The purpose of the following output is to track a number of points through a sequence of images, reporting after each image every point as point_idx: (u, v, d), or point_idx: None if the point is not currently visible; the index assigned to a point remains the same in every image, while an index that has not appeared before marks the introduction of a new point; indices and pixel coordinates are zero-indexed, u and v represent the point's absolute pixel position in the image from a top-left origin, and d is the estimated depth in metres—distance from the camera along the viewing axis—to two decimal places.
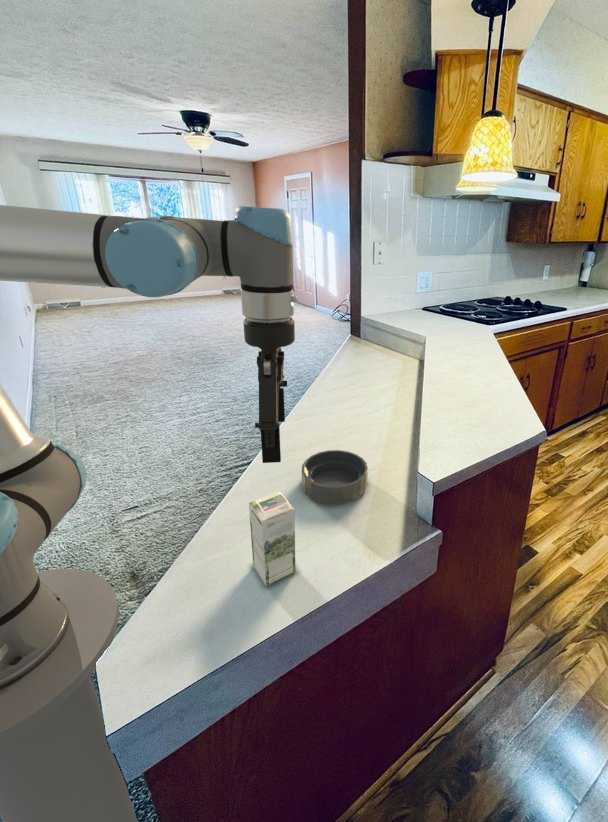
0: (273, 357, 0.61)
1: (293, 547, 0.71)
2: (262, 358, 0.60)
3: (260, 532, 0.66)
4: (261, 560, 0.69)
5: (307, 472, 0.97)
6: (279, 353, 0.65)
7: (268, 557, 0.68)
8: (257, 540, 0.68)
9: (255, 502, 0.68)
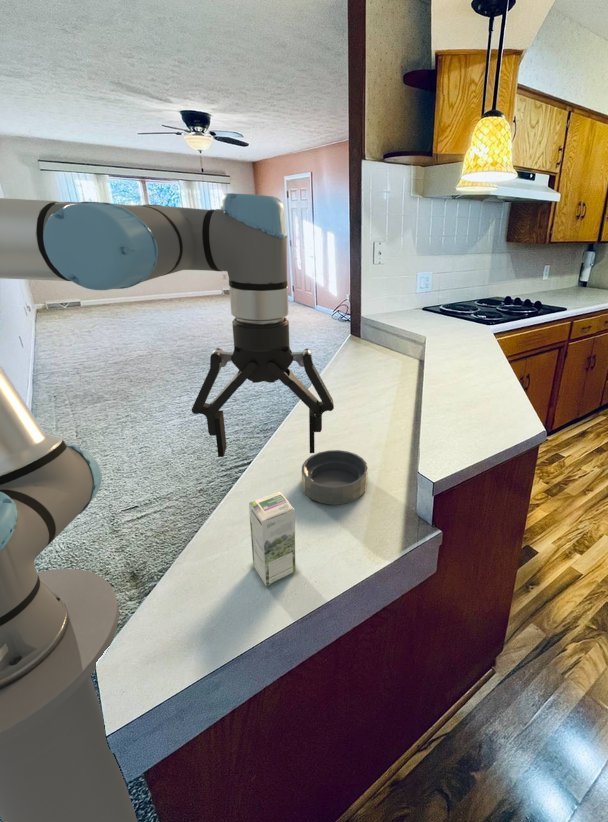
0: (291, 351, 0.60)
1: (293, 547, 0.71)
2: (290, 356, 0.58)
3: (260, 532, 0.66)
4: (261, 560, 0.69)
5: (307, 472, 0.97)
6: None
7: (268, 557, 0.68)
8: (257, 540, 0.68)
9: (255, 502, 0.68)
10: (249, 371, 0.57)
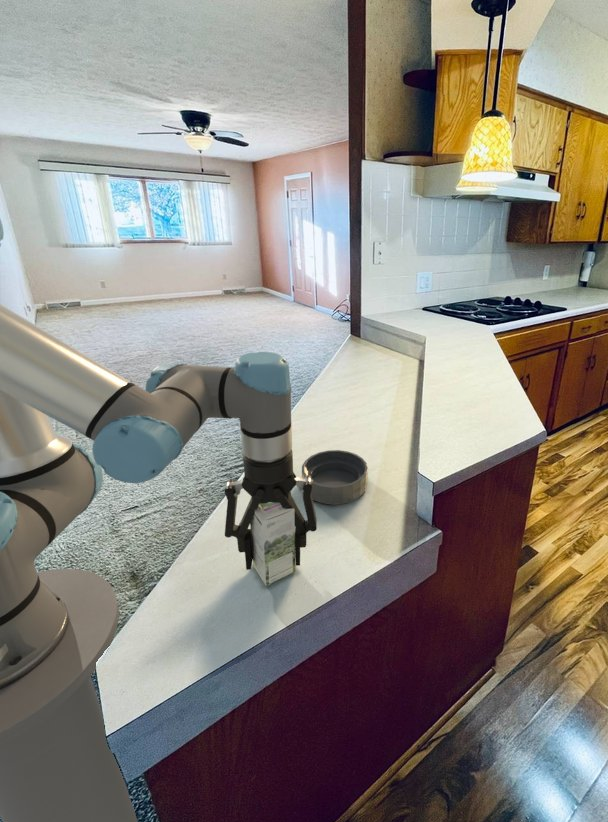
0: (294, 474, 0.67)
1: (293, 547, 0.71)
2: (293, 481, 0.66)
3: (260, 532, 0.66)
4: (261, 560, 0.69)
5: (307, 472, 0.97)
6: None
7: (268, 557, 0.68)
8: (257, 540, 0.68)
9: None
10: (257, 496, 0.65)
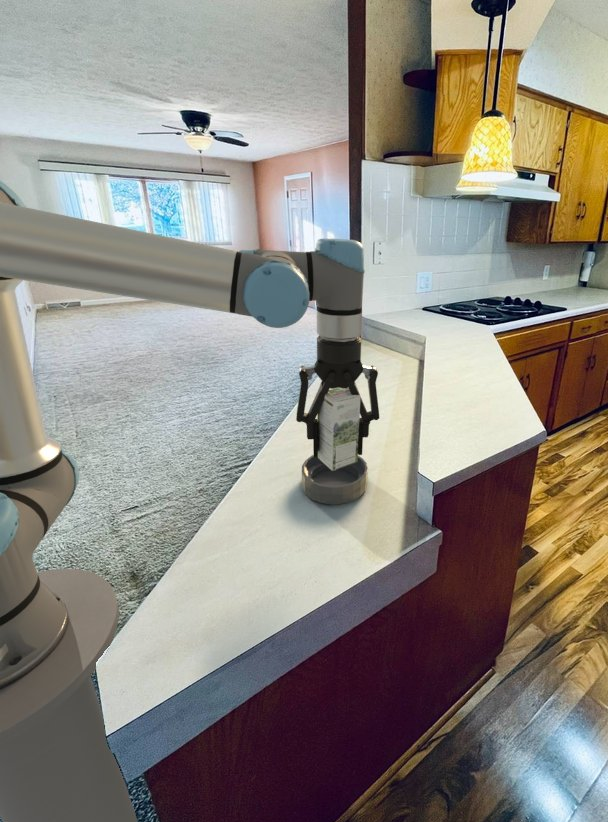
0: None
1: (357, 436, 0.76)
2: (361, 366, 0.71)
3: (330, 415, 0.71)
4: (329, 445, 0.74)
5: (307, 472, 0.97)
6: None
7: (336, 441, 0.73)
8: (325, 426, 0.73)
9: None
10: (329, 379, 0.70)
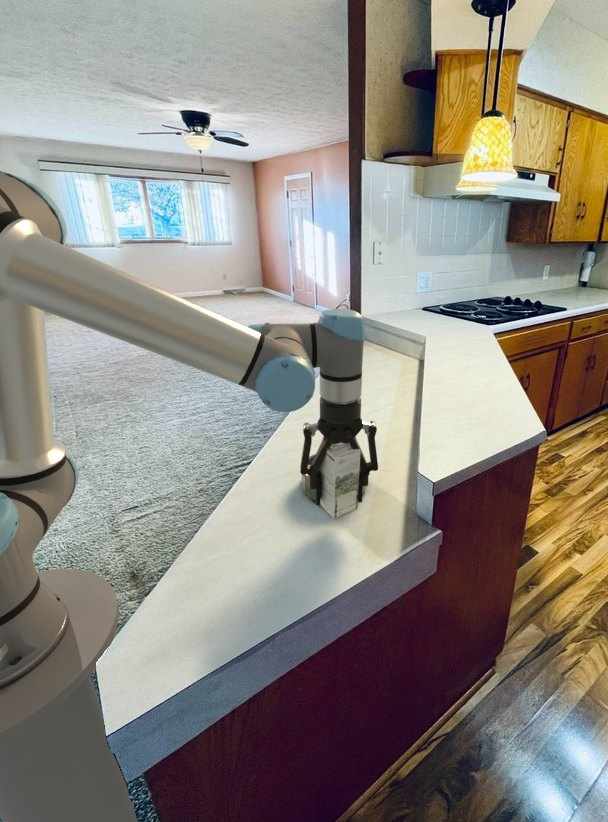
0: (360, 418, 0.77)
1: (357, 485, 0.81)
2: (361, 424, 0.76)
3: (332, 469, 0.76)
4: (331, 495, 0.79)
5: None
6: None
7: (337, 492, 0.78)
8: (327, 477, 0.78)
9: None
10: (331, 436, 0.75)
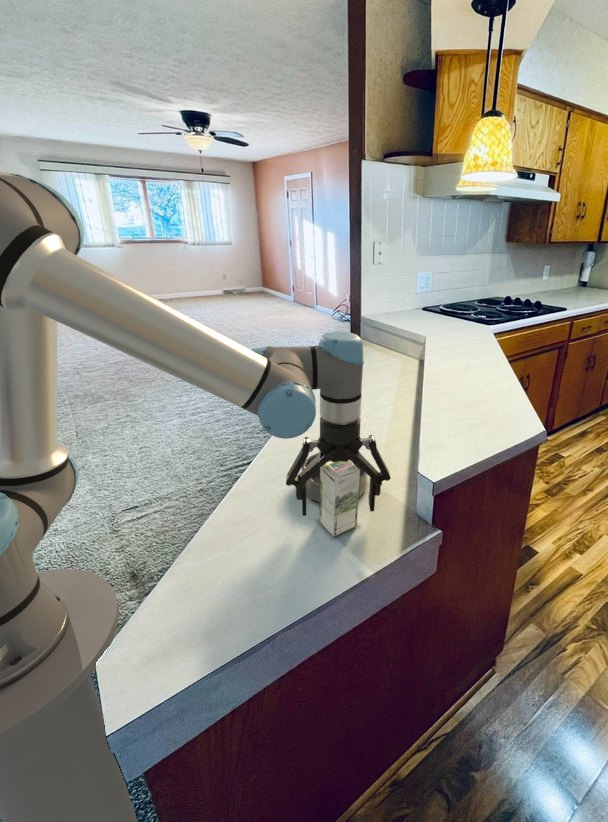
0: None
1: (356, 504, 0.82)
2: (360, 442, 0.77)
3: (332, 489, 0.78)
4: (330, 514, 0.80)
5: None
6: None
7: (337, 511, 0.79)
8: (327, 496, 0.80)
9: (326, 464, 0.80)
10: (331, 455, 0.76)
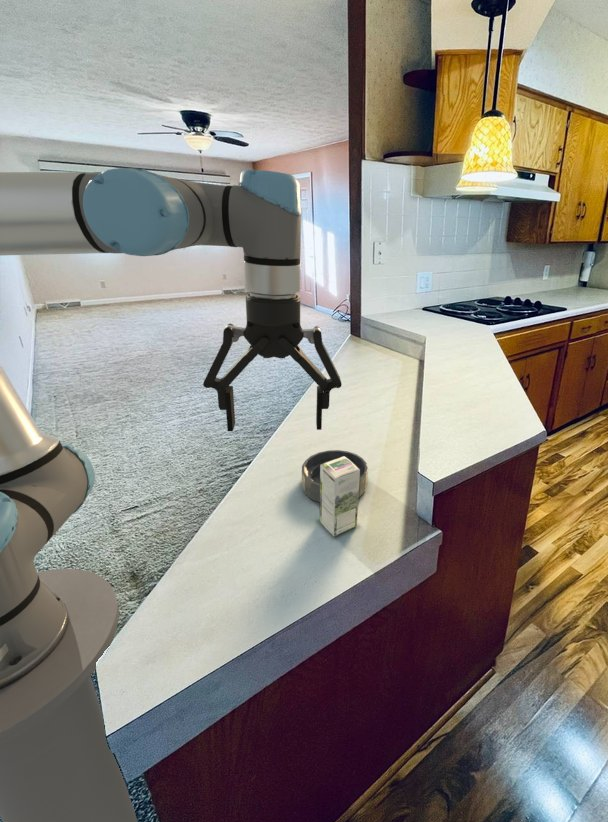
0: (301, 328, 0.61)
1: (356, 504, 0.82)
2: (301, 332, 0.60)
3: (332, 489, 0.78)
4: (330, 514, 0.80)
5: (307, 472, 0.97)
6: None
7: (337, 511, 0.79)
8: (327, 496, 0.80)
9: (326, 464, 0.80)
10: (261, 346, 0.59)
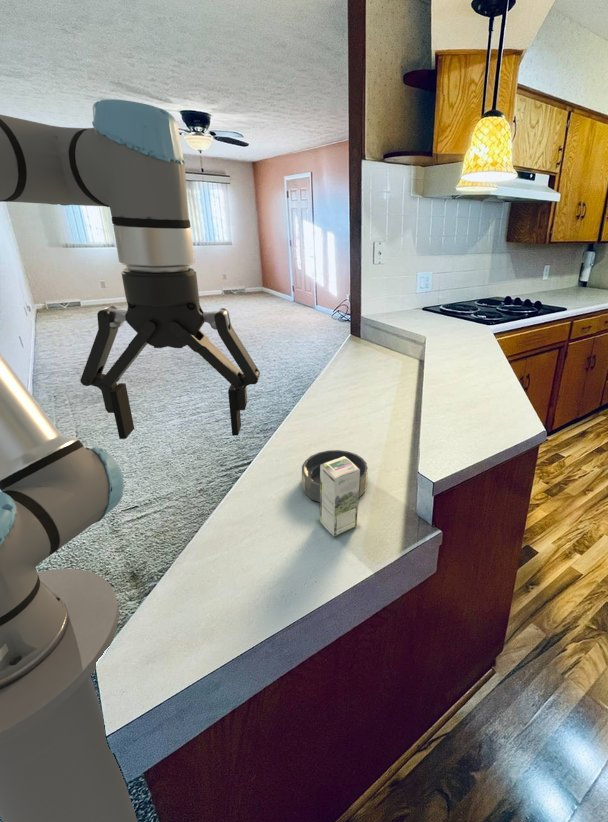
0: (202, 310, 0.49)
1: (356, 504, 0.82)
2: (199, 315, 0.48)
3: (332, 489, 0.78)
4: (330, 514, 0.80)
5: (307, 472, 0.97)
6: None
7: (337, 511, 0.79)
8: (327, 496, 0.80)
9: (326, 464, 0.80)
10: (147, 333, 0.47)
